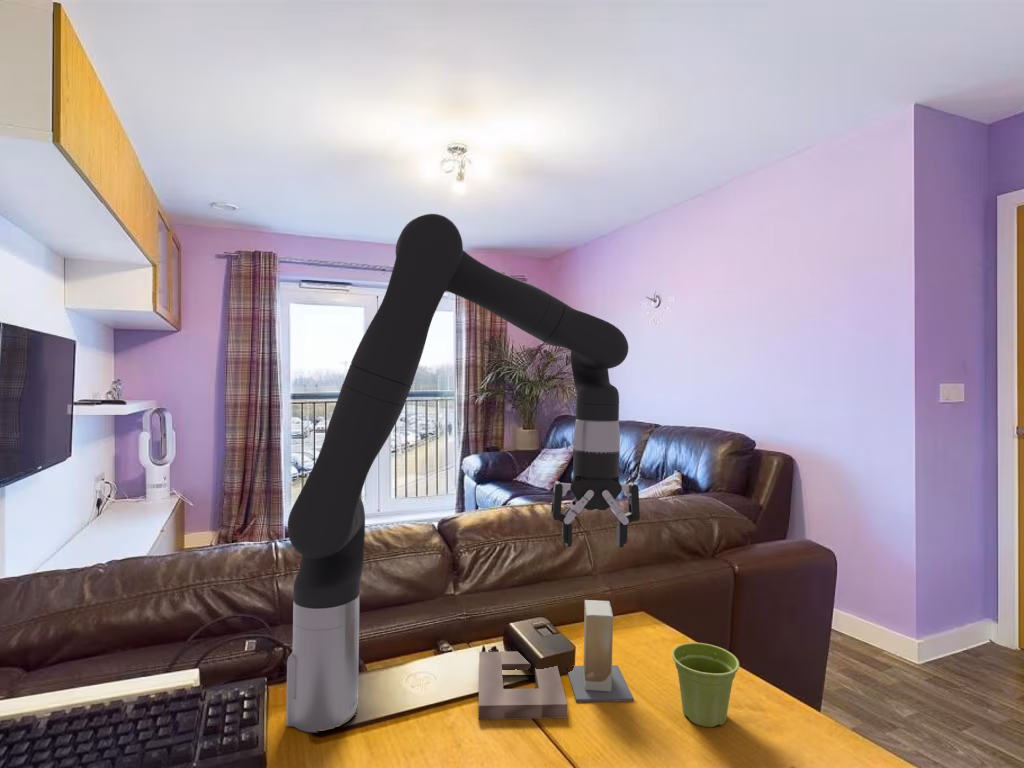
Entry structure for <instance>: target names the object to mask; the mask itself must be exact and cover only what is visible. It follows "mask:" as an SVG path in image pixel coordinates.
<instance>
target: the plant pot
mask: <svg viewBox="0 0 1024 768" xmlns="http://www.w3.org/2000/svg"><path fill="white" fill-rule="evenodd" d="M671 658H672V660H673V661H674V663H675V664H674V665H675V668H676V670H677V676H678V683H679V691H680V699H681V707H682V713H683V714H684V715H685V716H686V718H688V719H689V720H690V722H692V723H694V724H695V725H698V726H701V727H705V728H713V727H716V726H718V725H720V726H723V725H725V724H726V721H727V717H728V712H729V704H730V698H731V693H732V692H731V691H732V686H733V681H734V679H735V677H736V673H737V672H738V671H739V669H740V661H739V659H738V657H736V656H735V655H734V654H733V653H732V652H730V651H728V650H727V649H725V648H722V647H720V646H716V645H713V644H709V643H705V642H704V643H703V642H686V643H681V644H679V645H676V646H675V647H674V648H673V649H672V651H671Z"/></svg>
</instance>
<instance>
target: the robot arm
mask: <svg viewBox="0 0 1024 768" xmlns="http://www.w3.org/2000/svg"><path fill="white" fill-rule="evenodd" d="M392 268H393V269H392V272H391V275H390V278H389V282H388V285H387V288H386V292H385V294H384V297H383V299H382V301H381V304H380V306H379V308H378V310H377V312H376V313H375V314H374V317H373V318H372V320H371V321H370V323H369V325H368V327H367V329H366V331H365V332H364V335H363V336H362V338H361V340H360V342H359V344H358V346H357V348H356V351H355V353H354V355H353V356H352V359H351V361H350V365H349V367H348V369H347V372H346V375H345V377H344V380H343V384H342V385H341V388H340V392H339V394H338V397H337V400H336V403H335V406H334V408H333V411H332V414H331V417H330V420H329V424H328V425H327V428H326V432H325V435H324V439H323V442H322V445H321V448H320V451H319V454H318V455H317V459H316V460H315V463H314V465H313V467H312V468H311V471H310V472H309V475H308V477H307V479H306V480H305V483H304V485H303V486H302V489H301V490H300V492H299V495H298V497H297V498H296V500H295V502H294V504H293V506H292V508H291V509H290V513H289V514H288V520H287V535H288V538H289V542H290V543H291V546H292V547H293V548H294V550H295V551H296V552H297V553H298V554H300V555H301V560H300V565H299V569H298V571H297V575H296V577H295V580H294V582H293V596H292V597H293V598H292V600H293V602H292V603H293V605H292V608H293V609H292V652H291V653H290V655H289V656H288V658H287V661H286V709H285V710H286V716H285V717H286V718H285V722H286V723H285V725H286V727H294V728H296V729H298V730H299V731H301V732H307V733H318V732H317V730H318V729H326V728H329V727H334V726H336V725H338V724H339V723H342V722H344V720H346V719H347V718H348V717H350V716H351V715H352V714H353V713H354V711H355V710H356V708H357V704H358V703H359V657H360V656H359V655H360V654H359V652H360V649H359V648H360V647H359V646H360V644H359V643H360V641H359V640H360V590H361V589H360V587H361V579H362V574H363V569H364V559H365V558H364V557H365V539H366V537H365V534H366V530H365V529H366V513H365V506H364V504H363V500H362V498H361V493H362V490H363V488H364V484H365V482H366V479H367V476H368V475H369V472H370V469H371V467H372V466H373V464H374V462H375V460H376V458H377V457H378V456H379V453H380V452H381V450H382V448H383V447H384V445H385V444H386V442H387V440H388V439H389V437H390V435H391V433H392V431H393V429H394V428H395V426H396V424H397V421H398V419H399V418H400V416H401V413H402V411H403V409H404V407H405V404H406V402H407V400H408V398H409V397H408V396H409V394H410V391H411V389H412V386H413V383H414V380H415V377H416V374H417V371H418V368H419V365H420V362H421V359H422V356H423V352H424V349H425V345H426V341H427V337H428V334H429V330H430V327H431V323H432V321H433V318H434V317H435V316H434V315H435V313H436V311H437V310H438V309H437V308H438V306H439V304H440V302H441V301H442V298H443V296H444V294H445V293H446V292H448V293H451V294H453V295H454V296H455V295H456V296H458V297H461V298H462V299H465V300H467V301H469V302H471V303H473V304H475V305H477V306H479V307H481V308H483V309H485V310H487V311H489V312H490V313H492V314H494V315H495V316H497V317H499V318H501V319H503V320H505V321H506V322H507V323H509V324H511V325H513V326H514V327H516V328H518V329H519V330H521V331H523V332H525V333H527V334H528V335H530V336H532V337H534V338H536V339H538V340H539V341H541V342H543V343H545V344H548V345H550V346H553V347H559V348H565V349H567V350H569V351H570V367H571V371H572V378H573V383H574V387H575V392H576V400H575V401H576V402H575V403H576V404H575V405H576V406H575V425H574V431H573V441H572V445H573V458H572V459H573V461H572V465H573V466H572V467H573V469H572V479H571V482H570V483H569V482H568V483H567V482H560V481H559V480H555V481H554V482H553V485H552V497H551V498H552V500H551V511H550V515H551V517H552V518H553V520H555V521H559V522H561V540H562V542H563V543H564V544H565V546H566V548H569V547H570V548H571V547H572V545H573V544H572V543H573V542H572V541H573V524H572V521H573V520H574V519H575V517H577V516H578V515H579V514H580V513H581V511H582V510H583V509H584V510H586V511H594V510H600V511H607V509H609V508H610V510H611V511H612V513H613V514H614V516H615V517H616V518H617V520H618V521H616V526H615V527H616V530H615V532H616V535H615V544H616V546H617V547H618V548H624V545H626V544H628V543H627V542H628V525H629V524H630V523H632V522H638V521H639V520H640V519H641V516H640V512H641V511H640V489H639V485H637V484H636V483H634V482H632V481H630V482H628V483H620V457H621V456H620V450H621V448H620V446H621V434H620V433H621V432H620V421H619V420H620V416H619V415H620V395H619V390H618V389H617V387H616V386H614V385H612V383H611V382H610V375H609V369H613V368H615V367H618V366H620V365H621V364H623V362H624V361H625V360H626V359H627V356H628V353H629V343H628V340H627V337H626V336H625V333H623V332H622V330H620V329H619V327H617V326H615V325H614V324H612V323H610V322H608V321H606V320H604V319H602V318H600V317H598V316H594V315H592V314H590V313H587V312H583V311H581V310H577V309H575V308H573V307H571V306H570V305H568V304H566V303H565V302H564V301H561V300H560V299H558V298H556V296H554V295H551V294H550V293H548V292H547V291H545V290H543V289H542V288H539V287H536V286H534V285H532V284H531V283H528V282H525V281H524V280H521V279H518V278H515V277H512V276H510V275H508V274H506V273H504V272H500V271H498V270H496V269H494V268H493V267H489V266H488V265H486V264H484V263H482V262H481V261H480V260H478V259H476V258H474V257H473V256H471V255H470V254H469V253H468V252H466V251H464V245H463V239H462V235H461V233H460V230H459V229H458V227H457V225H456V224H455V223H454V222H453V221H452V220H450V218H448V217H446V216H444V215H442V214H438V213H427V214H422V215H419V216H417V217H415V218H413V219H412V220H410V221H409V222H408V223H406V225H405V226H404V228H403V229H402V231H400V234H399V237H398V239H397V242H396V245H395V261H394V264H393V267H392ZM568 491H570V492H571V493H572V495H573V496H574V498H573V500H572V501H571V502H570V504H569V505H568V507H567V508H566V510H565V511H564V512H562V502H563V501H562V500H563V497H565V496H566V495H567V493H568ZM622 491H623V494H624V496H626V497H627V508H628V509H627V511H628V512H625V513H624V512H623V510H622V508H621V507H620V506H619V504H618V503H617V501H616V500H617V498H618V497H619V496H620V494H621V493H622ZM358 705H359V704H358Z"/></svg>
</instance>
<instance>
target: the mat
mask: <svg viewBox="0 0 1024 768" xmlns="http://www.w3.org/2000/svg"><path fill="white" fill-rule="evenodd" d="M573 666H574V668H573V670H572V671H570V672H568V673H567V675H568V679H569V682H570V685H571V689H572V692H573V696H574V700H575V702H576V703H579V702H580V703H582V702H585V703H591V702H593V703H594V702H634V701H635V699H634V696H633V694H632V692H631V689H630V688H629V685H628V684H627V681H626V680H625V677H624V675H623V673H622V671H621V668H620V667H619V665H618V664H617V665H616V664H612V691H611V692H608V691H593V690H585V686H584V677H583V665H573Z"/></svg>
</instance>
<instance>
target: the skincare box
mask: <svg viewBox="0 0 1024 768" xmlns="http://www.w3.org/2000/svg"><path fill="white" fill-rule="evenodd" d="M611 606H612V605H611V602H610V601H609V600H597V599H596V600H595V599H594V600H593V599H590V600H589V599H584V620H583V621H584V622H583V624H584V625H583V628H584V629H583V661H582V662H583V664H582V666H583V677H584V686H585V690H593V691H608V692H611V691H612V665H613V642H614V641H613V639H614V631H613V630H614V615H613V610H612V607H611Z"/></svg>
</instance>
